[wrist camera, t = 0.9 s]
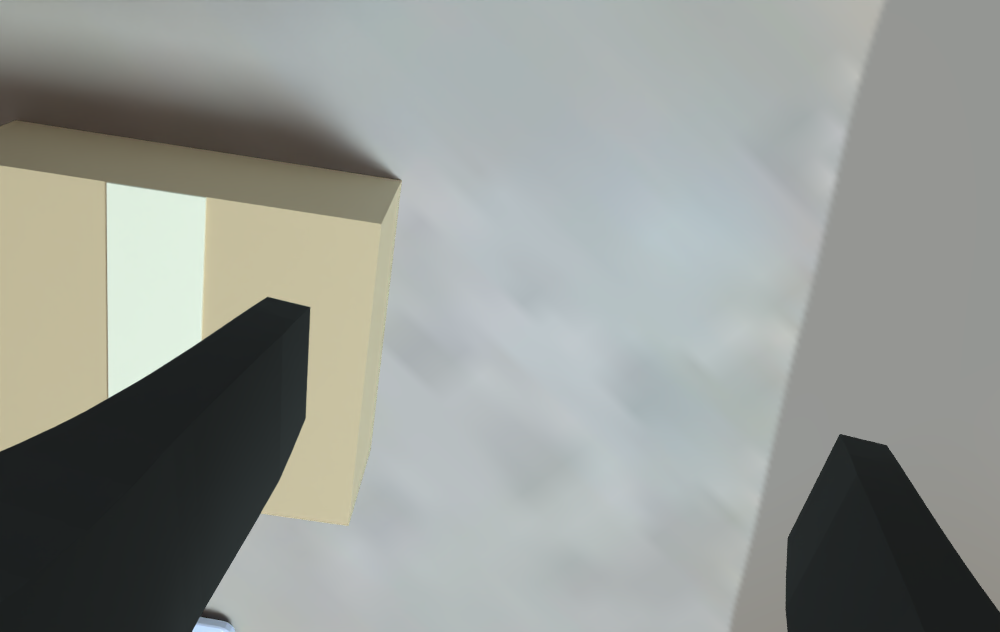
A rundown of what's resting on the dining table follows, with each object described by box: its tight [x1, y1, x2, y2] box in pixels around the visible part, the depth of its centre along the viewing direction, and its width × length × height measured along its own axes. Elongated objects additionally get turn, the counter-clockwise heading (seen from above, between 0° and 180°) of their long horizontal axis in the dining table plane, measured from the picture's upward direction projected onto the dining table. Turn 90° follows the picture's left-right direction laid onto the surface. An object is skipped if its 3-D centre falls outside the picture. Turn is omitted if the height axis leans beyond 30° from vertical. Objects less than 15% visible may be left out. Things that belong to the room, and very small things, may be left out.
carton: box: [0, 120, 402, 526], centre depth 27 cm, size 9×11×5 cm
